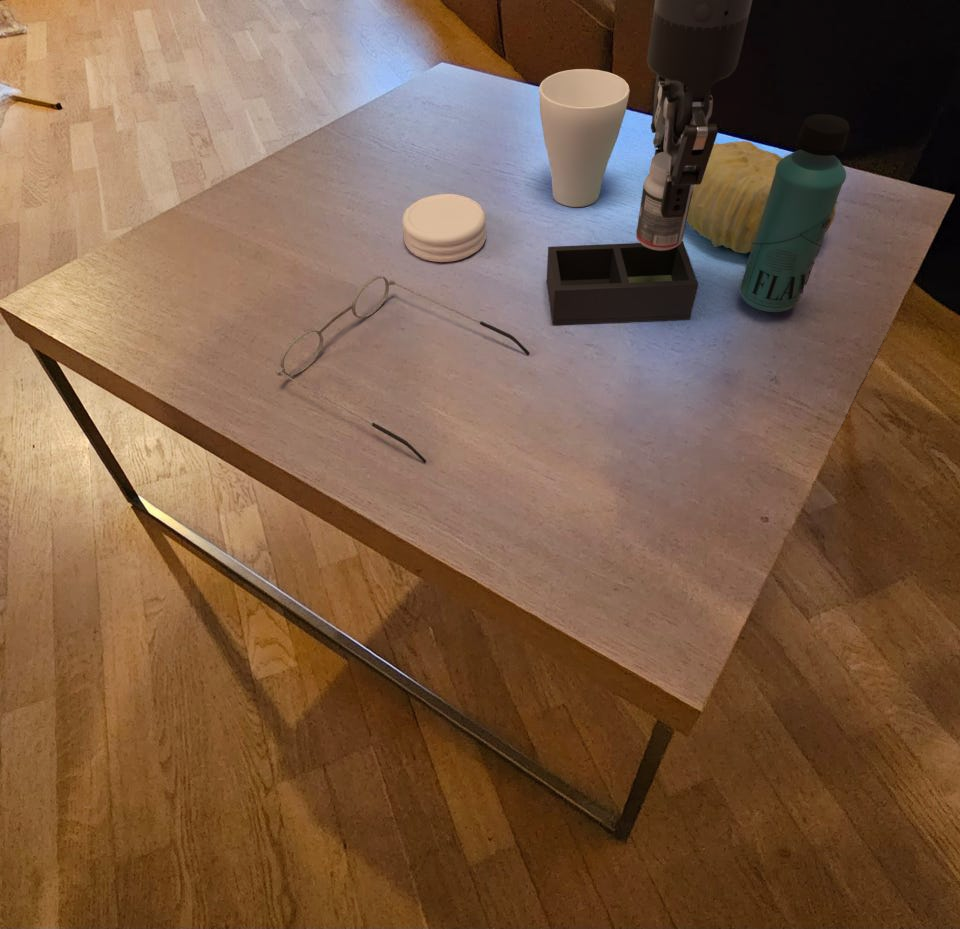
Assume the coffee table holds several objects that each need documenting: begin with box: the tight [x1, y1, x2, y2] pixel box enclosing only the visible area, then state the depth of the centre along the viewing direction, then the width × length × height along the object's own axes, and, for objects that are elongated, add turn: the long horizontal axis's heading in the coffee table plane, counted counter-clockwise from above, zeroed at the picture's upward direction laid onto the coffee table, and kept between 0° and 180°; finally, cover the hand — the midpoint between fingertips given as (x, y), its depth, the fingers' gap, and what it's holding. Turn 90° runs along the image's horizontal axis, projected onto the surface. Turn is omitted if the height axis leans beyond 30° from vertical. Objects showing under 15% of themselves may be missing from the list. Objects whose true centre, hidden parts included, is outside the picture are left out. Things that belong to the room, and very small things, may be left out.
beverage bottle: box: [739, 113, 850, 313], centre depth 71 cm, size 6×7×20 cm
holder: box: [546, 240, 699, 326], centre depth 78 cm, size 8×15×5 cm, turn 92°
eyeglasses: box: [275, 275, 530, 464], centre depth 72 cm, size 18×19×4 cm
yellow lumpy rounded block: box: [686, 140, 838, 254], centre depth 84 cm, size 17×11×15 cm
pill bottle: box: [635, 152, 694, 251], centre depth 71 cm, size 5×5×8 cm
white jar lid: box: [401, 193, 487, 263], centre depth 87 cm, size 10×10×4 cm
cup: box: [538, 68, 631, 208], centre depth 89 cm, size 10×10×14 cm
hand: (666, 199), depth 71 cm, fingers closed on pill bottle, 4 cm apart
